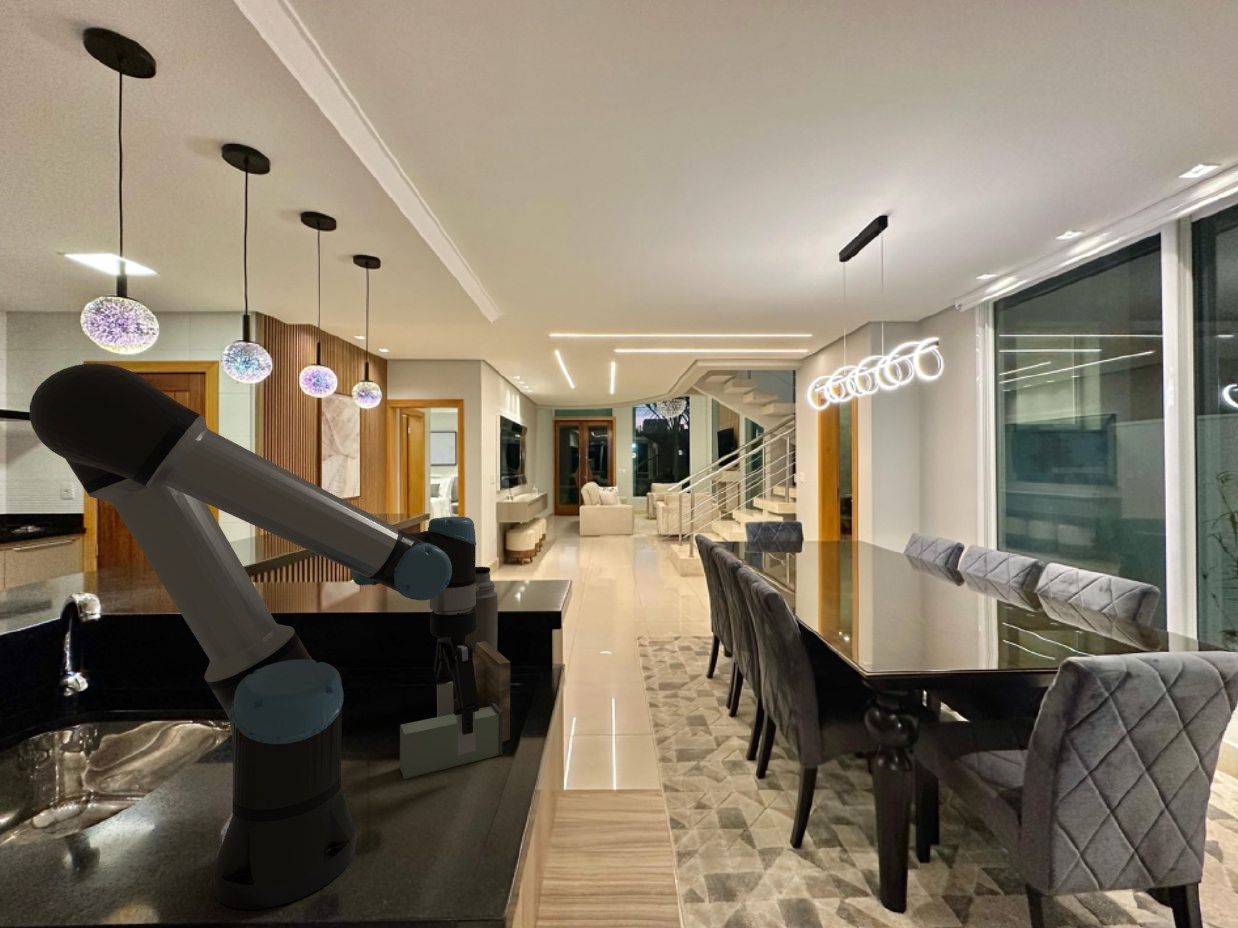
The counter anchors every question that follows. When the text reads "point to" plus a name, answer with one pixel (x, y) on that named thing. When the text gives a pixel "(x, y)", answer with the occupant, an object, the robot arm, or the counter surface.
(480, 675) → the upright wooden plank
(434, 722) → the rectangular block
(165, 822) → the counter surface
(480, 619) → the thermos bottle
